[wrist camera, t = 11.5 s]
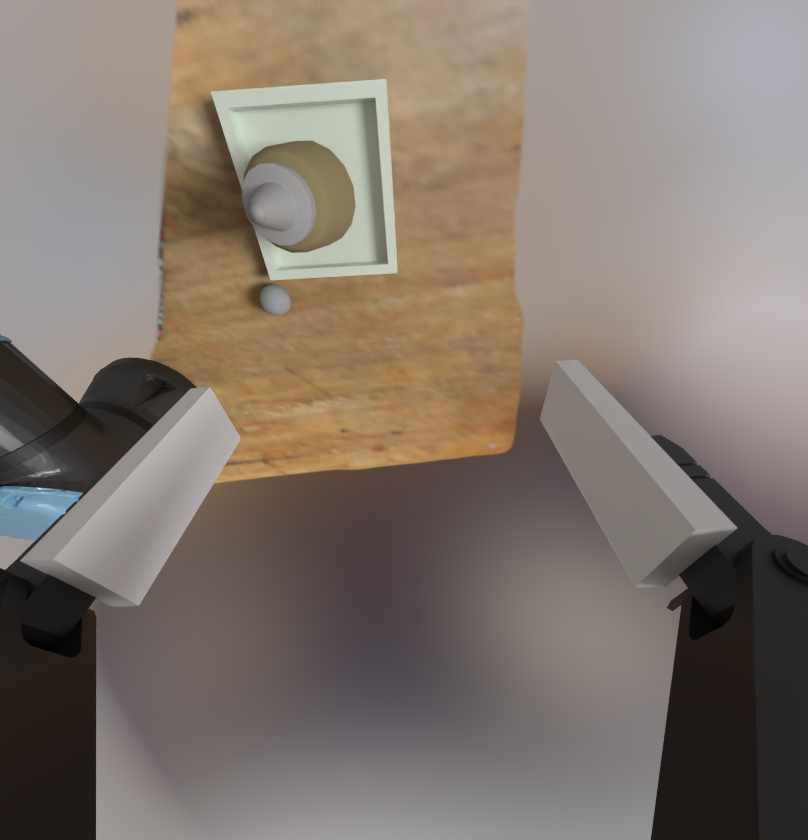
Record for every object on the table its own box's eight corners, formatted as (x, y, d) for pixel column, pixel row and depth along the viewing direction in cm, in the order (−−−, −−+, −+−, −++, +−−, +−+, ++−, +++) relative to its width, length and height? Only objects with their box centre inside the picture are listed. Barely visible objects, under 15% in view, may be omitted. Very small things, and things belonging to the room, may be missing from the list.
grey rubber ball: (270, 310, 39) (261, 320, 37) (261, 281, 37) (250, 290, 34) (297, 308, 39) (289, 319, 36) (289, 280, 37) (280, 288, 34)
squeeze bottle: (271, 210, 32) (171, 237, 18) (297, 120, 27) (190, 65, 14) (340, 255, 34) (299, 309, 21) (373, 180, 30) (349, 185, 16)
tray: (277, 274, 36) (270, 280, 35) (224, 97, 27) (210, 91, 25) (397, 267, 36) (397, 273, 34) (386, 86, 27) (386, 79, 25)
